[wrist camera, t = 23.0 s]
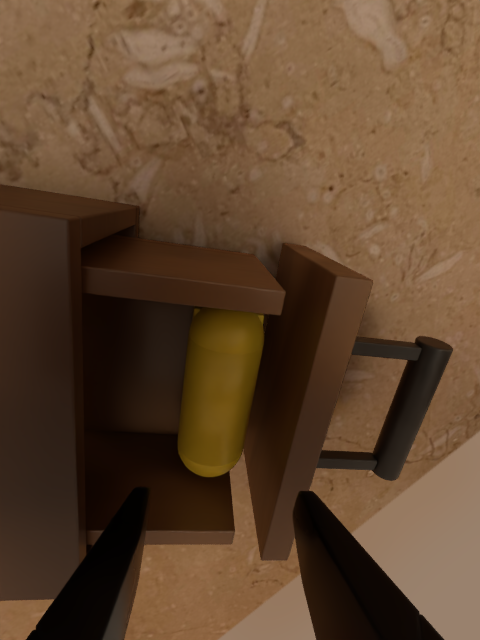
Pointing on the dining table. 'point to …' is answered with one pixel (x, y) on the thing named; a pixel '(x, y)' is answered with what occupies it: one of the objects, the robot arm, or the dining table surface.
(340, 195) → the dining table surface
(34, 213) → the cabinet
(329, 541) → the robot arm
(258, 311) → the drawer
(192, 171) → the dining table surface
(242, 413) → the yellow rounded block
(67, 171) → the dining table surface
